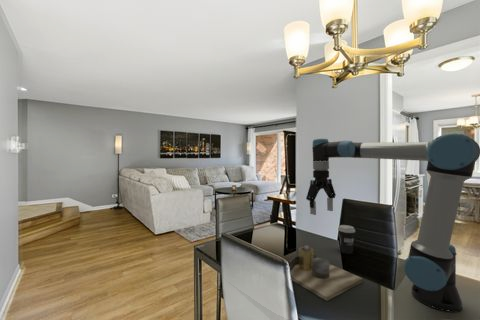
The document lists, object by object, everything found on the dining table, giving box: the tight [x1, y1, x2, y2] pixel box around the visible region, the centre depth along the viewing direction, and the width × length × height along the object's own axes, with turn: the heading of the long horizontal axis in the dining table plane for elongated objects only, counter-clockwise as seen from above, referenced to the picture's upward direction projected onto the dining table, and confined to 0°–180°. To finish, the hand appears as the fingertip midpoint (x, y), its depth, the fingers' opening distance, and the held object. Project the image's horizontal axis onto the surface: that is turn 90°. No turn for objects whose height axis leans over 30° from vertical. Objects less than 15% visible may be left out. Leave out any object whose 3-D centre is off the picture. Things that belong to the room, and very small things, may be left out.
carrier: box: [287, 244, 364, 302], centre depth 109 cm, size 28×26×12 cm
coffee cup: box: [337, 224, 356, 255], centre depth 138 cm, size 10×10×15 cm
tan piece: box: [298, 246, 315, 271], centre depth 115 cm, size 7×7×9 cm
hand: (321, 212), depth 115 cm, fingers open, 13 cm apart
